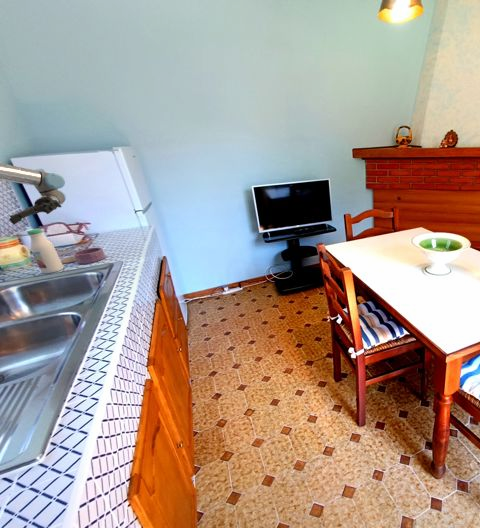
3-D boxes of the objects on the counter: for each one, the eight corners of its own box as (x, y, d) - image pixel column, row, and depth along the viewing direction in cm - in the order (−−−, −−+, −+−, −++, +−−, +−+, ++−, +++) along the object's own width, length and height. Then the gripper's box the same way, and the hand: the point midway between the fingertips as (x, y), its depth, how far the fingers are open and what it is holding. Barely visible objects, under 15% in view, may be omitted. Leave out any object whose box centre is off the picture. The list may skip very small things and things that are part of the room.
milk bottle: (63, 266, 147) (45, 226, 139) (64, 270, 141) (45, 229, 134) (42, 271, 142) (22, 230, 134) (41, 275, 136) (20, 233, 129)
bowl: (81, 266, 145) (77, 256, 143) (73, 262, 152) (69, 253, 150) (109, 258, 154) (105, 249, 152) (101, 255, 160) (97, 246, 158)
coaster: (62, 265, 148) (61, 264, 148) (55, 261, 154) (55, 260, 154) (89, 258, 156) (88, 257, 156) (82, 255, 162) (81, 254, 162)
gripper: (78, 202, 161) (65, 214, 144) (25, 218, 155) (4, 233, 138) (68, 189, 157) (53, 199, 140) (13, 205, 151) (-10, 218, 134)
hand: (29, 216), depth 139 cm, fingers open, 13 cm apart
